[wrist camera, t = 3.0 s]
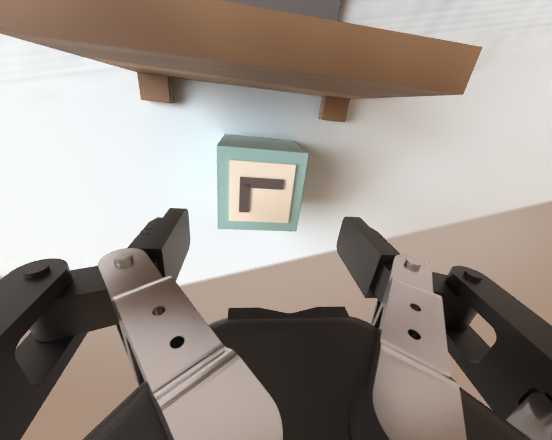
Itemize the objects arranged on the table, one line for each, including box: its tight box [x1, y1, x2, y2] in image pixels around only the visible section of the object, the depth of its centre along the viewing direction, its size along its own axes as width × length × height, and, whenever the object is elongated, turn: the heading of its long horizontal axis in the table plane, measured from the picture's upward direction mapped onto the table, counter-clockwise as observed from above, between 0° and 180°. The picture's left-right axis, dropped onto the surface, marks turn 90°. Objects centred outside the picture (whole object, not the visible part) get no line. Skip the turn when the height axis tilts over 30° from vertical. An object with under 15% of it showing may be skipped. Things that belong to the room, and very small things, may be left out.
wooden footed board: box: [0, 0, 482, 122], centre depth 13 cm, size 5×16×12 cm, turn 84°
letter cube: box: [217, 134, 309, 231], centre depth 19 cm, size 6×6×6 cm
